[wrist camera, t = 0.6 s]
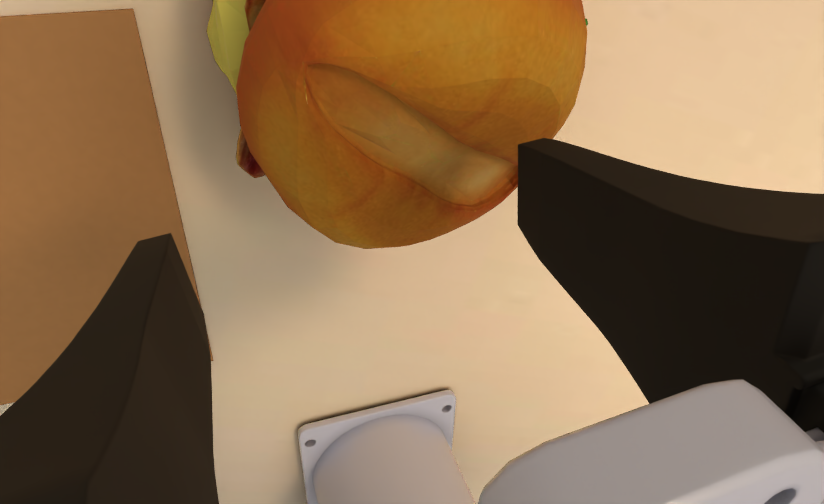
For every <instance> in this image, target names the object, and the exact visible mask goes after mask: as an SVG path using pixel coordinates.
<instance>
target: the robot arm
mask: <svg viewBox="0 0 824 504" xmlns="http://www.w3.org/2000/svg"><path fill="white" fill-rule="evenodd" d="M518 226H519V227H520V229H521V231H522V233H523V234H524V236H525V238H526V239H527V241H528V243H529V244H530V246H531V247H532V249H533V251H534V252H535V254H536V255H537V257H538V258H539V260H540V261H541V262H542V263H543V264H544V266H545V267H546V268H547V269H548V270H549V272H550V273H551V274H552V275H553V276H554V277H555V279H556V280H557V281H558V282H559V283H560V285H561V286H562V287H563V288H564V289H565V290H566V291H567V293H568V294H569V295H570V296H571V297H572V298H573V300H574V301H575V302H576V303H577V304H578V305H579V306H580V308H581V309H582V310H583V311H584V312H585V313H586V315H587V316H588V317H589V318H590V319H591V320H592V321H593V323H594V324H595V325H596V326H597V327H598V329H599V330H600V331H601V332H602V334H603V335H604V336H605V338H606V339H607V340H608V341H609V343H610V344H611V346H612V347H613V349H614V350H615V352H616V353H617V355H618V356H619V357H620V359H621V360H622V362H623V363H624V365H625V366H626V368H627V369H628V371H629V372H630V374H631V375H632V377H633V378H634V380H635V381H636V383H637V385H638V386H639V388H640V389H641V391H642V393H643V394H644V396H645V397H646V399H647V400H648V402H649V404H648V405H645V406H642V407H640V408H637V409H634V410H631V411H629V412H626V413H623V414H620V415H618V416H615V417H612V418H609V419H607V420H604V421H601V422H598V423H596V424H593V425H590V426H587V427H585V428H582V429H579V430H576V431H574V432H571V433H568V434H565V435H563V436H560V437H557V438H554V439H551V440H549V441H546V442H544V443H542V444H540V445H538V446H536V447H534V448H533V449H531V450H529V451H527V452H525V453H523V454H522V455H520V456H518V457H516V458H514V459H512V460H510V461H509V462H508V463H507V464H506V465H505V466H504V467H503V468H502V469H501V470H500V471H499V472H498V473H497V474H496V475H495V476H494V478H493V479H492V480H491V481H490V482H489V483H488V484H487V485H486V486H485V487H484V489H483V491H482V493H481V495H480V498H479V502H478V504H824V194H810V193H795V192H782V191H772V190H763V189H753V188H745V187H738V186H731V185H725V184H719V183H714V182H708V181H703V180H697V179H692V178H687V177H683V176H678V175H674V174H671V173H667V172H663V171H659V170H655V169H651V168H647V167H644V166H640V165H637V164H633V163H630V162H627V161H623V160H620V159H617V158H613V157H610V156H607V155H604V154H601V153H598V152H594V151H591V150H588V149H585V148H582V147H578V146H575V145H572V144H568V143H565V142H561V141H557V140H553V139H548V138H541V139H537V140H533V141H529V142H525V143H521V144H518ZM455 406H456V396H455V395H454V393H453V392H452V391H451V390H444V391H440V392H435V393H431V394H427V395H423V396H419V397H415V398H411V399H407V400H403V401H399V402H395V403H390V404H386V405H382V406H378V407H374V408H370V409H366V410H362V411H358V412H354V413H349V414H345V415H341V416H337V417H333V418H329V419H325V420H321V421H317V422H313V423H309V424H305V425H303V426H302V427H300V429H299V430H298V440H299V447H300V455H301V462H302V470H303V477H304V485H305V492H306V500H307V504H476V503H475V501H474V499H473V496H472V494H471V492H470V490H469V488H468V486H467V483H466V481H465V479H464V477H463V475H462V473H461V471H460V468H459V466H458V464H457V462H456V460H455V458H454V455H453V453H452V442H453V430H454V418H455ZM308 440H309V441H308ZM0 504H219V501H218V494H217V487H216V479H215V471H214V457H213V425H212V383H211V355H210V349H209V343H208V336H207V331H206V325H205V319H204V314H203V311H202V308H201V306H200V304H199V301H198V299H197V296H196V294H195V291H194V289H193V286H192V284H191V281H190V279H189V276H188V274H187V271H186V269H185V266H184V264H183V261H182V259H181V256H180V254H179V251H178V249H177V246H176V244H175V241H174V239H173V236H172V234H171V233H168V234H164V235H160V236H156V237H152V238H148V239H144V240H141V241H138V242H137V243H136V245H135V247H134V248H133V250H132V251H131V253H130V254H129V256H128V258H127V259H126V261H125V263H124V264H123V266H122V268H121V269H120V271H119V272H118V274H117V276H116V277H115V279H114V281H113V282H112V284H111V286H110V287H109V289H108V290H107V292H106V293H105V295H104V296H103V298H102V299H101V301H100V302H99V304H98V306H97V307H96V309H95V310H94V311H93V313H92V314H91V315H90V317H89V318H88V319H87V321H86V322H85V324H84V325H83V326H82V328H81V329H80V330H79V332H78V333H77V334H76V336H75V337H74V339H73V340H72V341H71V342H70V344H69V345H68V346H67V347H66V349H65V350H64V351H63V352H62V353H61V355H60V356H59V357H58V358H57V359H56V360H55V362H54V363H53V364H52V365H51V366H50V367H49V368H48V369H47V370H46V371H45V373H44V374H43V375H42V376H41V377H40V378H39V379H38V380H37V381H36V382H35V383H34V384H33V385H32V386H31V388H30V389H29V390H28V391H27V392H25V393H24V394H23V395H22V396H21V397H20V398H19V399H18V400H17V401H16V402H15V403H14V404H13V405H12V406H11V407H9V408H8V409H7V410H6V411H5V412H4V413H3V414H2V415H1V416H0Z"/></svg>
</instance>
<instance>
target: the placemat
mask: <svg viewBox="0 0 824 504" xmlns="http://www.w3.org/2000/svg"><path fill="white" fill-rule="evenodd" d="M168 233H171V234H172V236H173V239H174V241H175V244H176V246H177V249H178V251H179V254H180V256H181V259H182V261H183V264H184V266H185V269H186V271H187V274H188V276H189V279H190V281H191V284H192V286H193V289H194V291H195V294H196V296H197V299H198V301H199V304H200V300H199V296H198V292H197V287H196V283H195V278H194V274H193V270H192V265H191V261H190V257H189V252H188V248H187V243H186V239H185V235H184V230H183V226H182V221H181V217H180V213H179V208H178V204H177V200H176V195H175V191H174V186H173V182H172V178H171V173H170V169H169V164H168V160H167V156H166V151H165V147H164V143H163V138H162V134H161V129H160V125H159V121H158V116H157V112H156V107H155V103H154V99H153V94H152V90H151V85H150V81H149V77H148V72H147V68H146V64H145V59H144V55H143V50H142V46H141V42H140V37H139V33H138V28H137V24H136V20H135V15H134V11H133V9H122V10H105V11H88V12H71V13H54V14H37V15H20V16H4V17H0V405H3V404H7V403H12V402H16V401H17V400H18V399H19V398H20V397H21V396H22V395H23V394H24V393H25V392H27V391H28V390H29V389H30V388H31V386H32V385H33V384H34V383H35V382H36V381H37V380H38V379H39V378H40V377H41V376H42V375H43V374H44V373H45V371H46V370H47V369H48V368H49V367H50V366H51V365H52V364H53V363H54V362H55V360H56V359H57V358H58V357H59V356H60V355H61V353H62V352H63V351H64V350H65V349H66V347H67V346H68V345H69V344H70V342H71V341H72V340H73V339H74V337H75V336H76V334H77V333H78V332H79V330H80V329H81V328H82V326H83V325H84V324H85V322H86V321H87V319H88V318H89V317H90V315H91V314H92V313H93V311H94V310H95V309H96V307H97V306H98V304H99V302H100V301H101V299H102V298H103V296H104V295H105V293H106V292H107V290H108V289H109V287H110V286H111V284H112V282H113V281H114V279H115V277H116V276H117V274H118V272H119V271H120V269H121V268H122V266H123V264H124V263H125V261H126V259H127V258H128V256H129V254H130V253H131V251H132V250H133V248H134V247H135V245H136V243H137V242H138V241H141V240H144V239H148V238H152V237H156V236H160V235H164V234H168ZM200 306H201V305H200ZM207 336H208V335H207ZM208 343H209V340H208ZM209 349H210V344H209ZM210 355H211V361H213V357H212V353H211V349H210Z"/></svg>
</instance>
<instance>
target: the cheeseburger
mask: <svg viewBox="0 0 824 504" xmlns="http://www.w3.org/2000/svg"><path fill="white" fill-rule="evenodd" d="M587 25H588V22H587V19H585V16H584V11H583V5H582V1H581V0H213V7H212V11H211V15H210V19H209V23H208V27H207V34H208V38H209V41H210V45H211V48H212V52H213V55H214V58H215V61H216V63H217V64H218V66H219V67H220V69H221V71H222V72H223V73H225V74H226V75H227V77H228V79H229V81H230V83H231V85H232V87H233V89H234V91H235V93H236V95H237V101H238V110H239V119H240V126H241V130H240V134H239V138H238V143H237V153H236V159H237V164H238V165H239V166H240V167H241V168H242V169H243V170H245V171H246V172H247V173H248V174H250V175H251V176H252V177H254V178H258V177H262V176H264V175H266V176H267V177H268V179H269V180H270V182H271V183H272V185H273V186H274V188H275V189H276V191H277V192H278V194H279V195H280V197H281V198H282V200H283V201H284V202H285V204H286V205H287V207H288V208H290V209H291V210H292V211H293V212H295V213H296V214H297V215H298V216H299V217H301V218H302V219H303V220H304V221H305V222H307V223H308V224H309V225H310V226H312V227H313V228H314V229H316V230H317V231H319V232H320V233H322V234H324V235H325V236H327V237H328V238H330V239H331V240H333V241H334V242H336V243H340V244H345V245H350V246H354V247H359V248H364V249H371V248H386V247H401V246H407V245H412V244H416V243H419V242H423V241H427V240H430V239H433V238H436V237H438V236H441V235H443V234H446V233H448V232H450V231H453V230H455V229H457V228H459V227H461V226H463V225H465V224H467V223H469V222H471V221H473V220H475V219H477V218H479V217H480V216H482V215H483V214H485V213H487V212H488V211H490V210H491V209H493V208H494V207H496V206H497V205H498V204H500V203H501V202H502V201H503V200H504V199H505V198H506V197H507V196H509V195H510V194H511V193H512V192H513V191H514V190H515V189H516V188H517V187H518V144H521V143H525V142H529V141H533V140H537V139H541V138H548V139H553V137H554V136H555V135H556V134H557V132H558V131H559V130H560V129H561V127H562V126H563V125H564V123H565V121H566V119H567V118H568V116H569V114H570V112H571V110H572V109H573V107H574V105H575V102H576V98H577V94H578V91H579V87H580V83H581V79H582V75H583V71H584V68H585V54H586V41H587V28H586V26H587Z"/></svg>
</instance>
